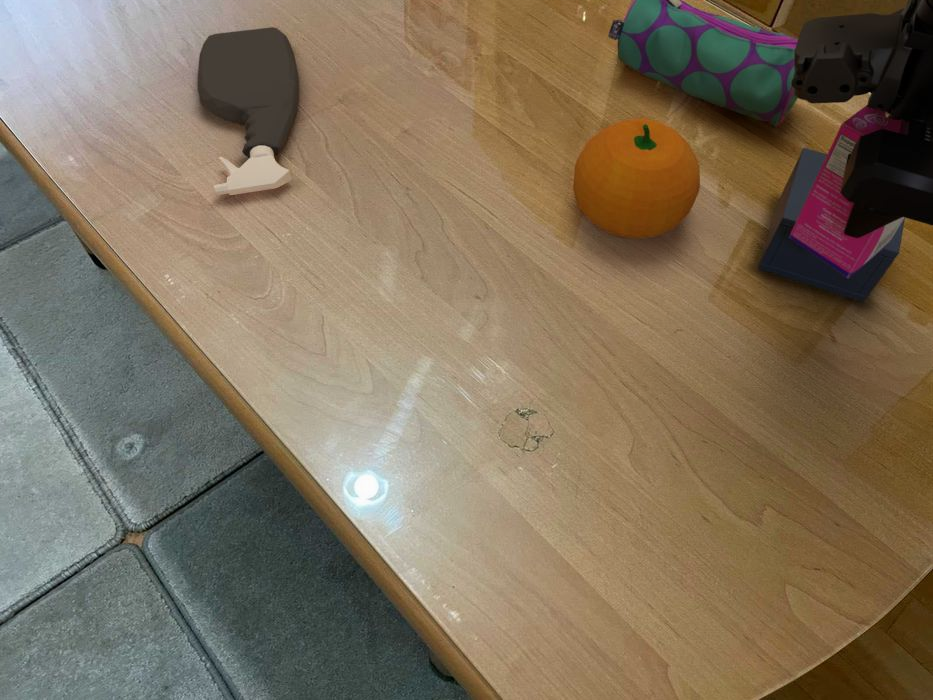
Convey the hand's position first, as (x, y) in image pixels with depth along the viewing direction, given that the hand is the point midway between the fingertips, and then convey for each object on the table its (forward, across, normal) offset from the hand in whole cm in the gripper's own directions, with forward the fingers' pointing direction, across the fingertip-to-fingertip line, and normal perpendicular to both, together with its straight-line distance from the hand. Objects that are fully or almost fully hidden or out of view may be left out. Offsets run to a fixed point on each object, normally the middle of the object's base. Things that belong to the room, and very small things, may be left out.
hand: (857, 201), depth 56 cm
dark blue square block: (+13, -8, +1) cm, 15 cm away
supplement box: (+4, 0, 0) cm, 5 cm away
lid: (+7, -8, +1) cm, 11 cm away
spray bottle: (+13, -2, -58) cm, 60 cm away
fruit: (+13, -6, -17) cm, 22 cm away
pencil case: (+13, -27, -15) cm, 34 cm away
